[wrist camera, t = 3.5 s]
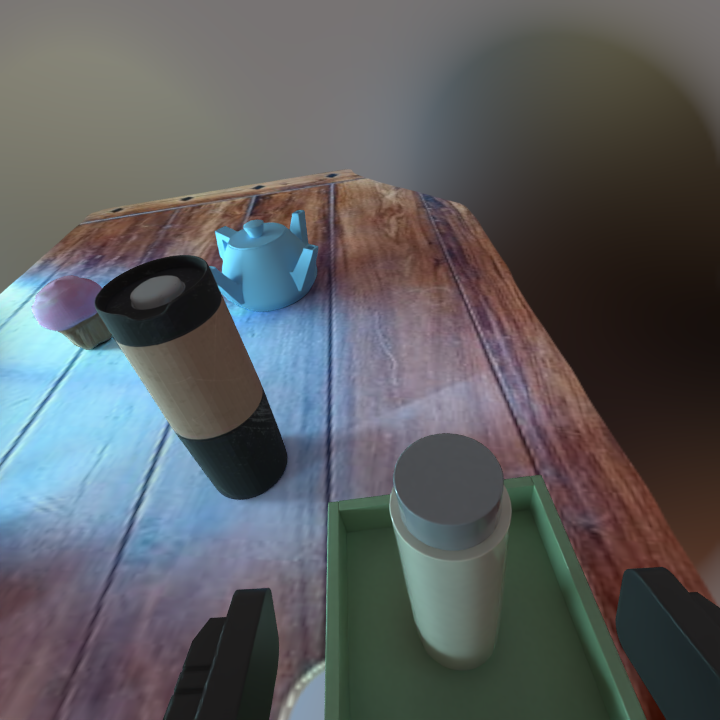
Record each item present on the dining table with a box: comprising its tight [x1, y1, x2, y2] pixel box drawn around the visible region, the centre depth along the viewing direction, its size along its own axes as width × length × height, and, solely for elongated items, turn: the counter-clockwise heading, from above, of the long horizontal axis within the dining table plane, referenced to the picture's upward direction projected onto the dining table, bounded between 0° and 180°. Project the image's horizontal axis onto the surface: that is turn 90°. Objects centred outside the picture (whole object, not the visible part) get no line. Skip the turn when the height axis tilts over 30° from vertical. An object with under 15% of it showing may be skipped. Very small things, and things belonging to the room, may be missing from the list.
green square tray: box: [325, 475, 647, 720], centre depth 27 cm, size 16×16×4 cm
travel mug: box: [95, 255, 287, 499], centre depth 35 cm, size 8×8×20 cm
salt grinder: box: [389, 433, 512, 671], centre depth 23 cm, size 5×5×16 cm
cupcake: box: [32, 276, 112, 350], centre depth 60 cm, size 9×9×10 cm
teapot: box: [209, 210, 318, 312], centre depth 63 cm, size 15×15×11 cm
